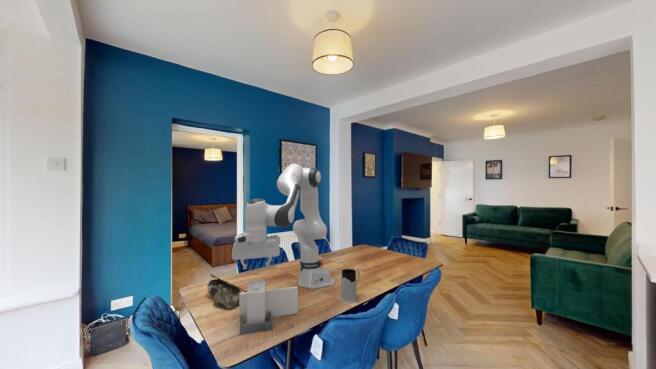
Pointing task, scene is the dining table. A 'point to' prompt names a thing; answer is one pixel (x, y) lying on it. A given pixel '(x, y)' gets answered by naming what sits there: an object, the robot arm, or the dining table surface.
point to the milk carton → (256, 302)
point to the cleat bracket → (256, 326)
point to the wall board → (274, 302)
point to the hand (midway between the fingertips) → (256, 267)
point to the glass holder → (349, 285)
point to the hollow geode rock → (224, 292)
